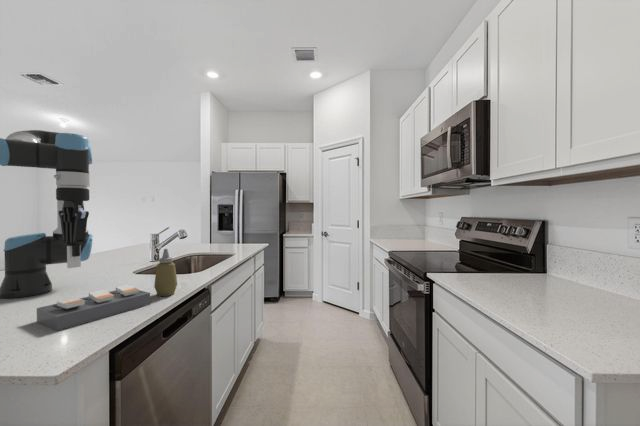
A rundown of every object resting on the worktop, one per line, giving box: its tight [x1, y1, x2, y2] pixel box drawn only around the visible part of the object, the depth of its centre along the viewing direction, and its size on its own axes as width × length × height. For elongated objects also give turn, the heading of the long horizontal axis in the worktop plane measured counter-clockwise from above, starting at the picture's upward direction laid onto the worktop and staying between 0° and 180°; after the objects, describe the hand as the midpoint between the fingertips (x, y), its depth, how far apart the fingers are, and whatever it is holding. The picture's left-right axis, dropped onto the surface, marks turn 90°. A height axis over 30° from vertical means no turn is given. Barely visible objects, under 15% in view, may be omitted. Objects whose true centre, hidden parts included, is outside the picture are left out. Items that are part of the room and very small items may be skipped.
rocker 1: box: [56, 297, 85, 309], centre depth 88 cm, size 6×4×1 cm
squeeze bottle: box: [154, 248, 178, 297], centre depth 116 cm, size 8×8×18 cm
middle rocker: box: [88, 289, 114, 303], centre depth 95 cm, size 6×4×1 cm
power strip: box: [36, 289, 151, 332], centre depth 98 cm, size 20×26×5 cm
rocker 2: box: [115, 284, 139, 296], centre depth 102 cm, size 6×4×1 cm
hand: (74, 267), depth 87 cm, fingers closed
